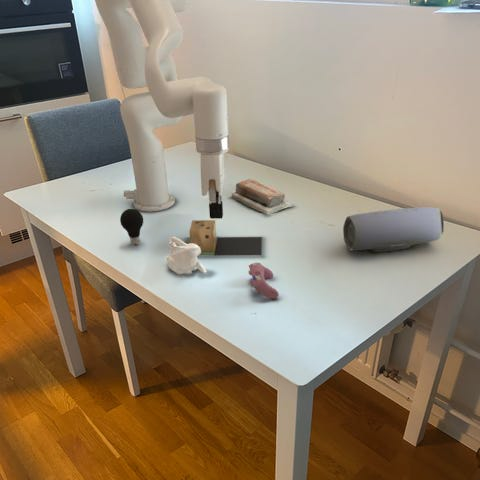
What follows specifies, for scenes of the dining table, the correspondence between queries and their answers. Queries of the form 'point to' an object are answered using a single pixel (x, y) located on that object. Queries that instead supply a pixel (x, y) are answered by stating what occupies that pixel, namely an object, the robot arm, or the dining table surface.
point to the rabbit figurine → (184, 257)
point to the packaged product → (260, 197)
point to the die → (204, 234)
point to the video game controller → (262, 280)
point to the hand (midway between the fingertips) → (216, 217)
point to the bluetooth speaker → (393, 228)
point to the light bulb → (132, 224)
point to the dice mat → (235, 246)
